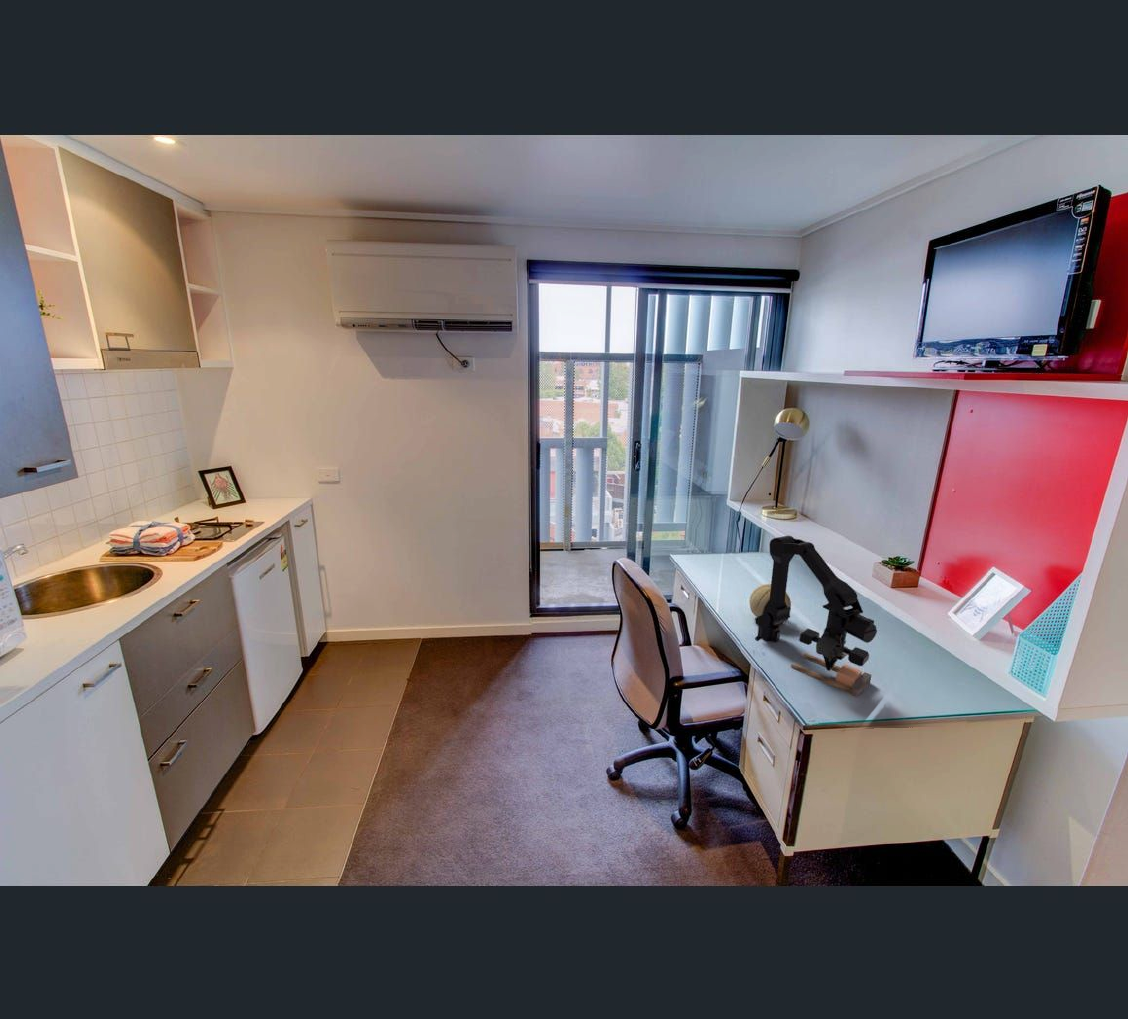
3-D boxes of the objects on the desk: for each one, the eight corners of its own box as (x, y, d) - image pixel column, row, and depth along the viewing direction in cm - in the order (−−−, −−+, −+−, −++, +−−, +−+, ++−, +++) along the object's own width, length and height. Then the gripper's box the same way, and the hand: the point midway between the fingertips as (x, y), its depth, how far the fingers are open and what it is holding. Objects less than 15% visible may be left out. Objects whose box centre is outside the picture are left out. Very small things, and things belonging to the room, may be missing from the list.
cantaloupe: (739, 616, 195) (743, 581, 191) (765, 608, 201) (770, 574, 197) (769, 633, 182) (774, 596, 178) (796, 624, 189) (802, 588, 185)
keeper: (835, 682, 152) (837, 671, 151) (842, 675, 156) (844, 664, 155) (852, 690, 148) (854, 678, 147) (859, 682, 152) (862, 671, 151)
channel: (790, 669, 160) (792, 659, 159) (804, 658, 167) (805, 648, 166) (857, 699, 146) (859, 688, 145) (869, 686, 152) (871, 674, 151)
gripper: (794, 623, 153) (787, 666, 157) (860, 648, 140) (850, 695, 144) (810, 611, 160) (803, 653, 165) (874, 635, 147) (864, 679, 151)
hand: (828, 670), depth 156 cm, fingers closed
